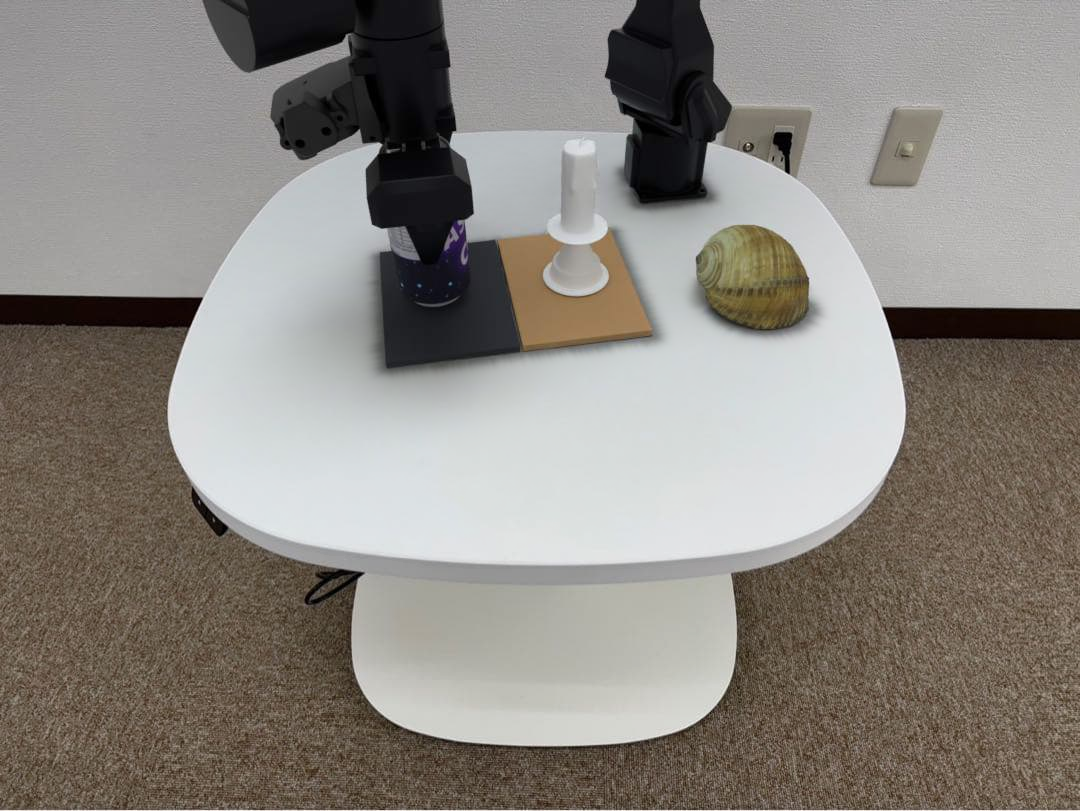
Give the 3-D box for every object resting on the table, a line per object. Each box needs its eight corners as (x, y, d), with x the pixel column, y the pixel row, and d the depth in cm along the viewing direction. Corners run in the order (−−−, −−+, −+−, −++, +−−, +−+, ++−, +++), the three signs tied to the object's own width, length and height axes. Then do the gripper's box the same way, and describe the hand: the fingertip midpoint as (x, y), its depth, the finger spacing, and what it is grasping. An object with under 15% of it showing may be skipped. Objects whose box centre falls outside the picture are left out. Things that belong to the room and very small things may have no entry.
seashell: (784, 332, 67) (792, 235, 66) (831, 333, 60) (841, 225, 59) (675, 325, 65) (682, 225, 64) (711, 325, 58) (719, 213, 57)
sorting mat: (609, 233, 70) (609, 227, 70) (651, 335, 61) (652, 329, 60) (380, 257, 68) (379, 251, 68) (386, 368, 58) (385, 362, 58)
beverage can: (460, 317, 60) (442, 174, 52) (390, 308, 61) (360, 167, 53) (480, 272, 64) (465, 132, 56) (412, 265, 65) (388, 126, 57)
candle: (583, 250, 67) (587, 114, 59) (622, 282, 64) (633, 143, 56) (530, 272, 65) (527, 134, 57) (567, 306, 62) (570, 165, 54)
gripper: (269, -21, 54) (319, 186, 65) (247, 103, 41) (313, 334, 52) (435, -33, 55) (455, 172, 66) (463, 84, 42) (483, 313, 53)
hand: (426, 239), depth 59 cm, fingers closed on beverage can, 6 cm apart
